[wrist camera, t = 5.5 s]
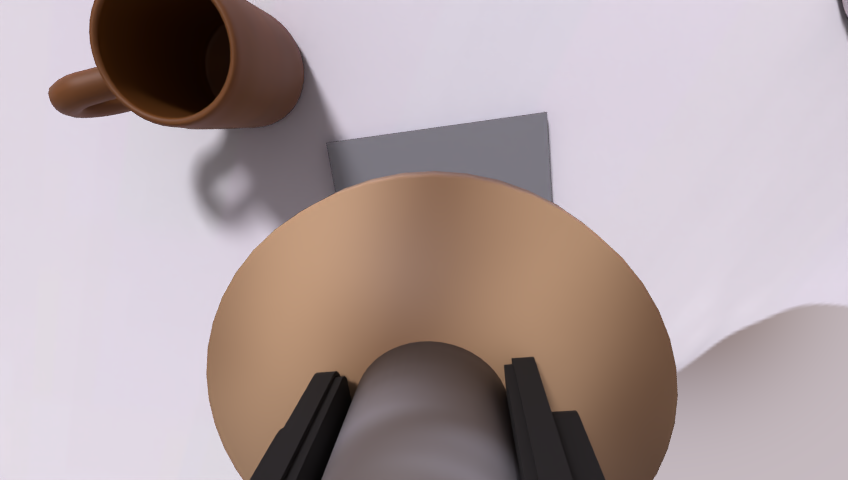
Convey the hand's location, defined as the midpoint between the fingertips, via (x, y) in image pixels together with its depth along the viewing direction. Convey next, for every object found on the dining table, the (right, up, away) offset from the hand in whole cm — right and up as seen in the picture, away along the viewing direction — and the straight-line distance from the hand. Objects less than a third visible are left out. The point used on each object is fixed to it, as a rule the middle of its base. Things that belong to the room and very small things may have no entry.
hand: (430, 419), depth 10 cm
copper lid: (0, 0, +2) cm, 1 cm away
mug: (-14, +16, +19) cm, 28 cm away
